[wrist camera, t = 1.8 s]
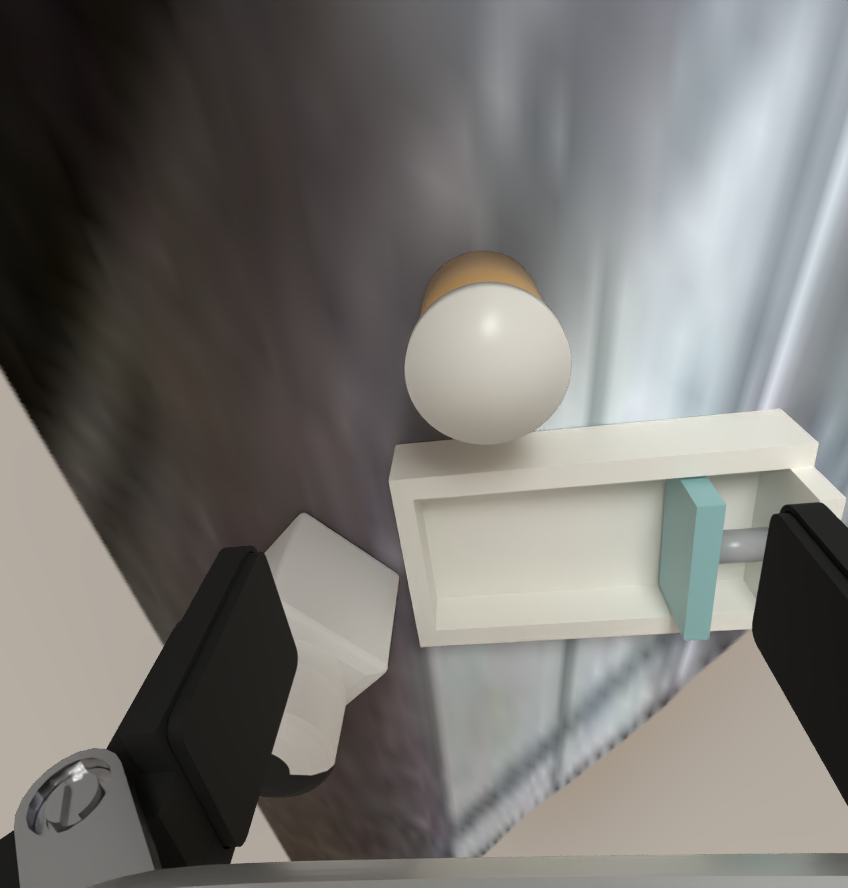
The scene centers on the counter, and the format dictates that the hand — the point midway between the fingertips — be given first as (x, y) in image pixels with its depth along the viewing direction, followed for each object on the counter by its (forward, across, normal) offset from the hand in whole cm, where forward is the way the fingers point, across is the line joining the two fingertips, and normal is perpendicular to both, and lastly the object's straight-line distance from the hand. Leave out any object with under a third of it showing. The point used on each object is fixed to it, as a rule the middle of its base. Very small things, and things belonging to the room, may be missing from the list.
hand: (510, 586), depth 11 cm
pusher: (+17, -11, +12) cm, 23 cm away
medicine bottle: (+18, +11, +15) cm, 26 cm away
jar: (+18, 0, 0) cm, 18 cm away
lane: (+18, -4, +12) cm, 22 cm away
